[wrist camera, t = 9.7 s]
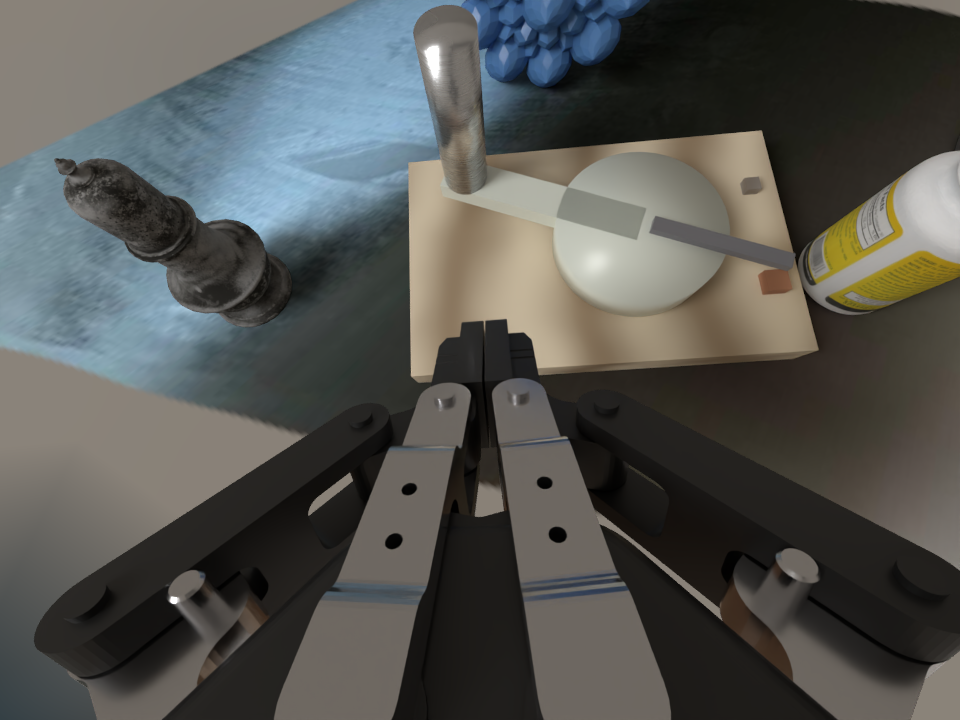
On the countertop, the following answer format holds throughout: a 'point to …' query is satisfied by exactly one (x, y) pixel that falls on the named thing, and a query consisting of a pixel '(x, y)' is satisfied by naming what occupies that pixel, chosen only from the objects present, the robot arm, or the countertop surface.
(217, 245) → the dark chess piece
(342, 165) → the countertop surface
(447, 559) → the robot arm
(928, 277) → the supplement bottle
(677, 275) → the dial
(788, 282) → the dial base
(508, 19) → the grapes
